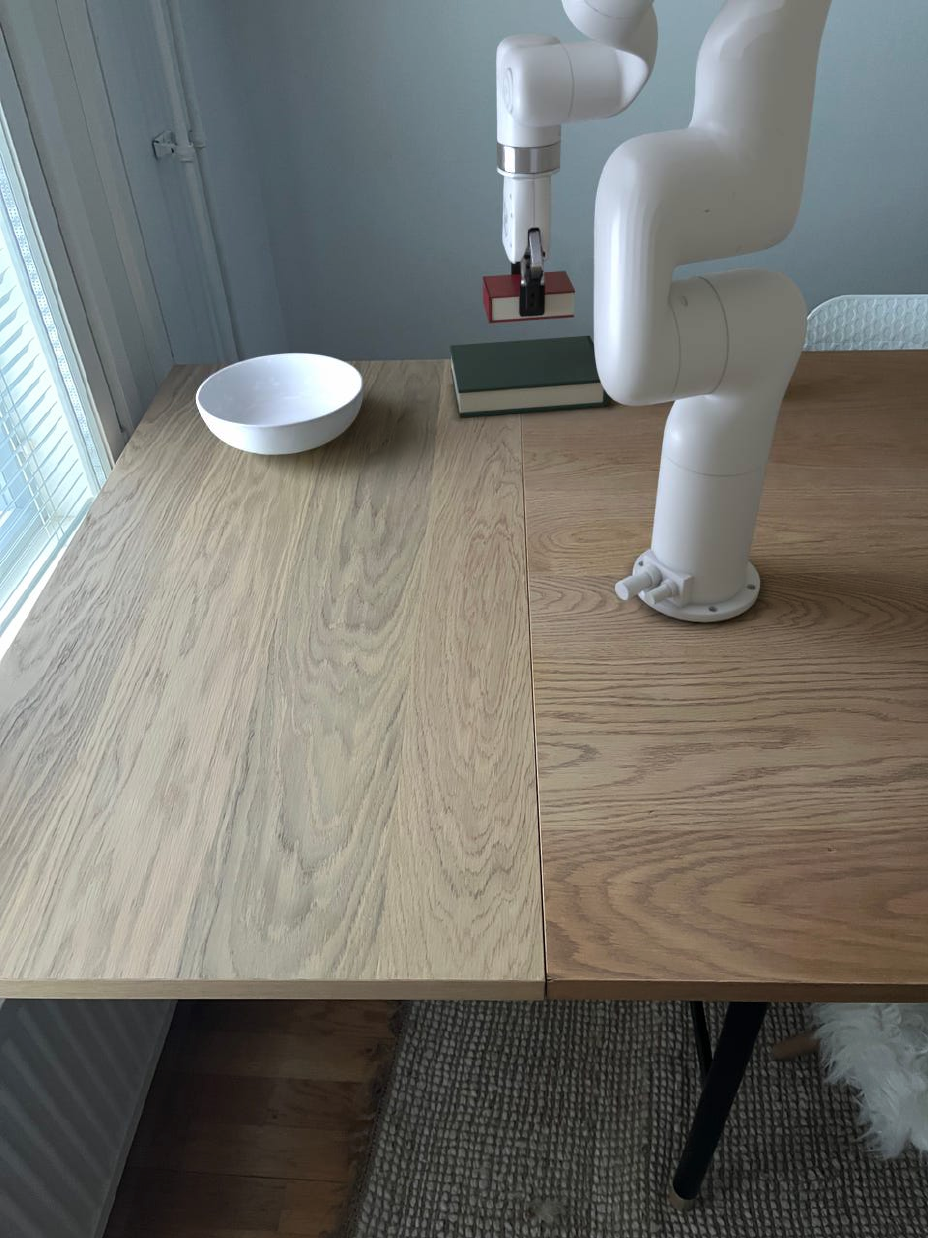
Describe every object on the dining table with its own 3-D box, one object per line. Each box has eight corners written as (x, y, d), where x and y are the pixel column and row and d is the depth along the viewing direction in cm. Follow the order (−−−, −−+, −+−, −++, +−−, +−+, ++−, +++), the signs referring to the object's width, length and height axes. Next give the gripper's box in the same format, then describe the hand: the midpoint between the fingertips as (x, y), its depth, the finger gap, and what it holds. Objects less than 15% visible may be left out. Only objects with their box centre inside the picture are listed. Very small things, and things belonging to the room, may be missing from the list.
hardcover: (588, 361, 137) (589, 335, 135) (608, 406, 127) (610, 378, 124) (451, 371, 136) (449, 345, 134) (459, 417, 126) (458, 389, 123)
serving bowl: (389, 453, 119) (384, 403, 114) (223, 491, 113) (211, 440, 109) (343, 386, 134) (337, 339, 130) (195, 416, 128) (183, 369, 124)
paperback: (489, 323, 121) (488, 296, 119) (483, 302, 127) (482, 276, 125) (574, 317, 122) (575, 290, 120) (564, 296, 127) (565, 270, 125)
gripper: (489, 140, 119) (491, 281, 130) (506, 179, 106) (507, 332, 117) (548, 136, 119) (545, 277, 131) (573, 175, 106) (567, 328, 117)
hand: (527, 302), depth 124 cm, fingers closed on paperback, 7 cm apart
